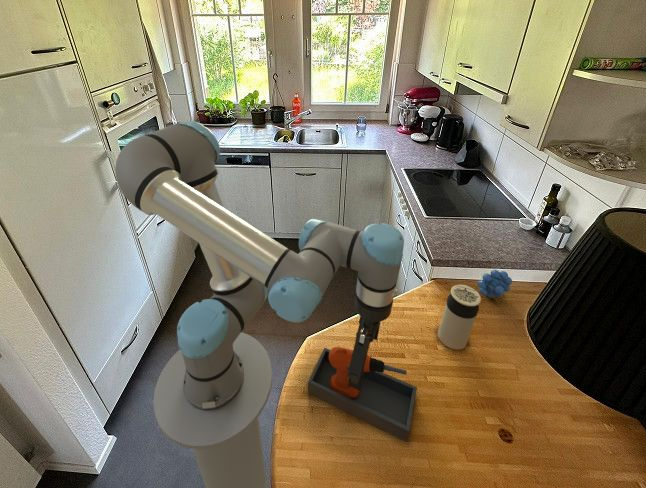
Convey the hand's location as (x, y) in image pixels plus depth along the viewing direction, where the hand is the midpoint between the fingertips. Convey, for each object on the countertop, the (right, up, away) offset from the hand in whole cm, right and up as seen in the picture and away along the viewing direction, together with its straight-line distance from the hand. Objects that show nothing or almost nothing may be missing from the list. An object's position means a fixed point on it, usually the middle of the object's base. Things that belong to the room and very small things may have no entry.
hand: (363, 360), depth 75 cm
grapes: (+50, +2, +34) cm, 60 cm away
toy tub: (0, -12, +6) cm, 14 cm away
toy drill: (+1, -12, +6) cm, 14 cm away
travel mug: (+30, -5, +21) cm, 37 cm away
